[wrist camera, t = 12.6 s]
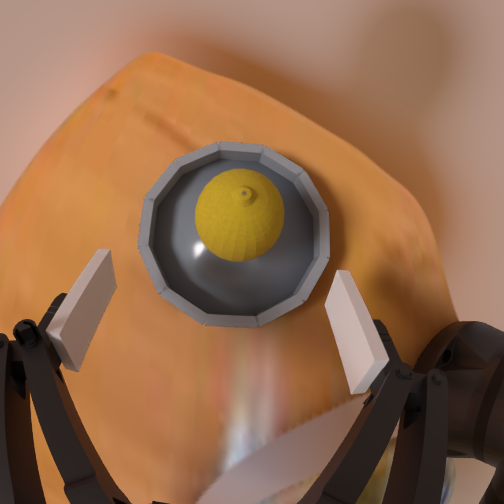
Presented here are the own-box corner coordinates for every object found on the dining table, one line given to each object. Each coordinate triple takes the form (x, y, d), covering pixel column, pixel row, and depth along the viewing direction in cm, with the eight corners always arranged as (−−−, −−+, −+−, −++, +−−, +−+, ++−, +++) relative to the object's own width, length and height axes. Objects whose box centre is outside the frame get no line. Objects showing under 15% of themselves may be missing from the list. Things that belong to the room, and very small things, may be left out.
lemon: (230, 185, 23) (236, 128, 15) (285, 228, 22) (318, 189, 15) (184, 237, 21) (165, 200, 14) (241, 284, 21) (254, 272, 13)
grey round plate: (316, 166, 25) (325, 153, 22) (317, 326, 22) (328, 328, 20) (160, 154, 23) (155, 139, 21) (141, 317, 21) (131, 318, 18)
